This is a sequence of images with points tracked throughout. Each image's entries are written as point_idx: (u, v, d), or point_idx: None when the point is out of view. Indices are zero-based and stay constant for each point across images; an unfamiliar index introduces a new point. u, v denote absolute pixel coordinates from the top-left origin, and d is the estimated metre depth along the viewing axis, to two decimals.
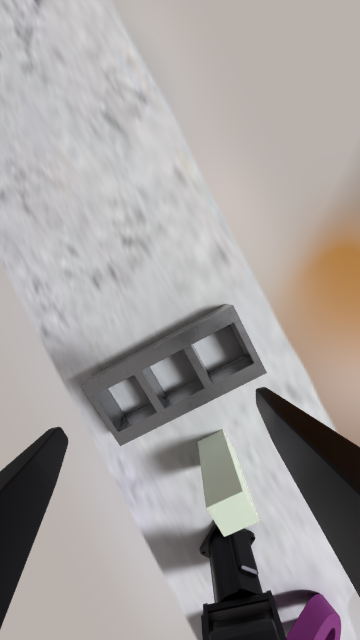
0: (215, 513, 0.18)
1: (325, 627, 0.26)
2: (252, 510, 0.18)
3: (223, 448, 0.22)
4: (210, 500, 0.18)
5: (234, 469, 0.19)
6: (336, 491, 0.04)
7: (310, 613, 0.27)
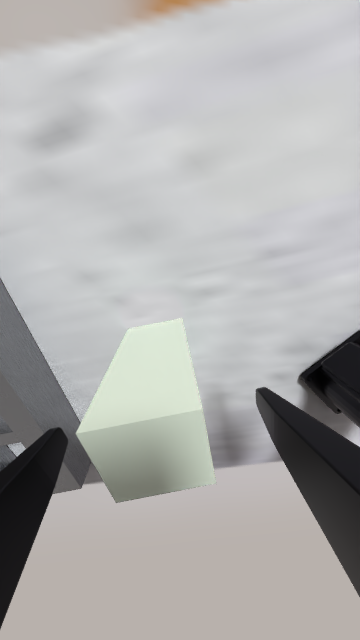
0: (138, 490, 0.07)
1: None
2: (155, 421, 0.06)
3: None
4: None
5: None
6: (336, 491, 0.04)
7: None
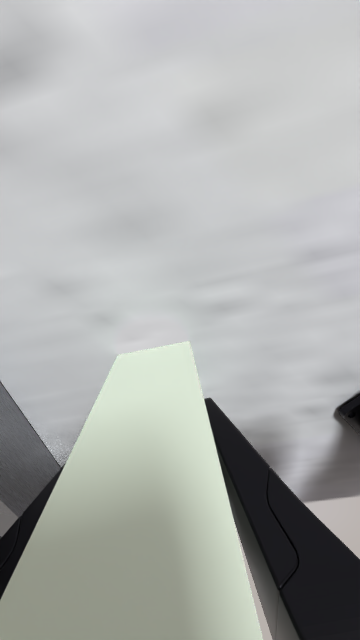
0: None
1: None
2: None
3: None
4: None
5: (58, 487, 0.04)
6: (239, 509, 0.04)
7: None
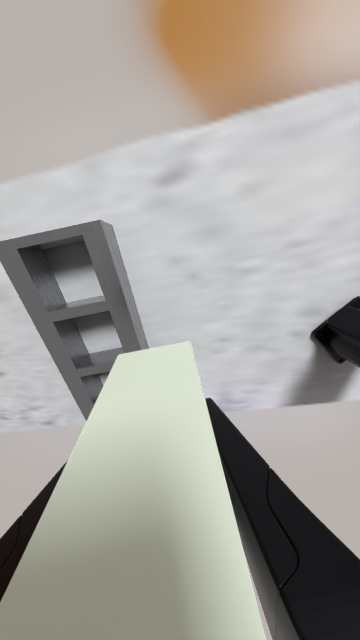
0: None
1: None
2: None
3: None
4: None
5: (59, 487, 0.04)
6: (239, 509, 0.04)
7: None
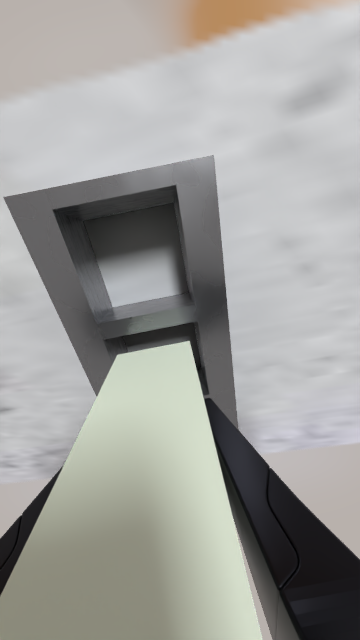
0: None
1: None
2: None
3: None
4: None
5: (56, 488, 0.04)
6: (239, 509, 0.04)
7: None
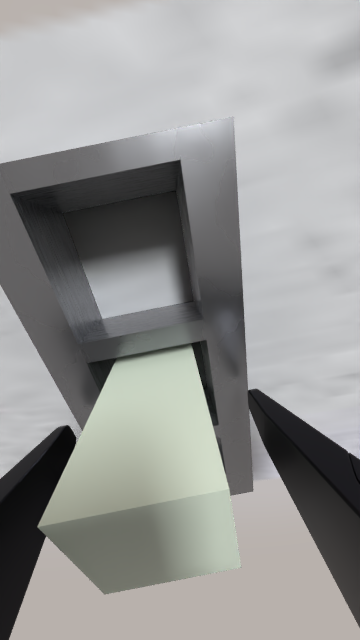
0: (134, 581, 0.05)
1: None
2: (157, 506, 0.04)
3: None
4: None
5: (86, 429, 0.06)
6: (321, 494, 0.04)
7: None
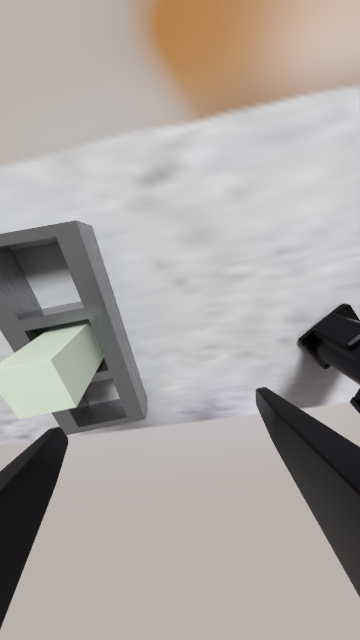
0: (30, 411, 0.12)
1: None
2: (27, 366, 0.11)
3: None
4: None
5: None
6: (336, 491, 0.04)
7: None
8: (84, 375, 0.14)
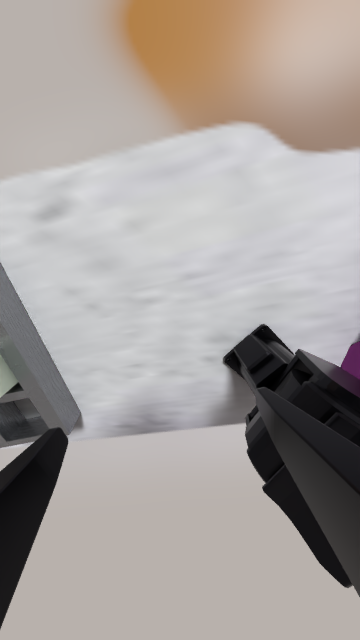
0: None
1: None
2: None
3: None
4: None
5: None
6: (336, 491, 0.04)
7: None
8: None
